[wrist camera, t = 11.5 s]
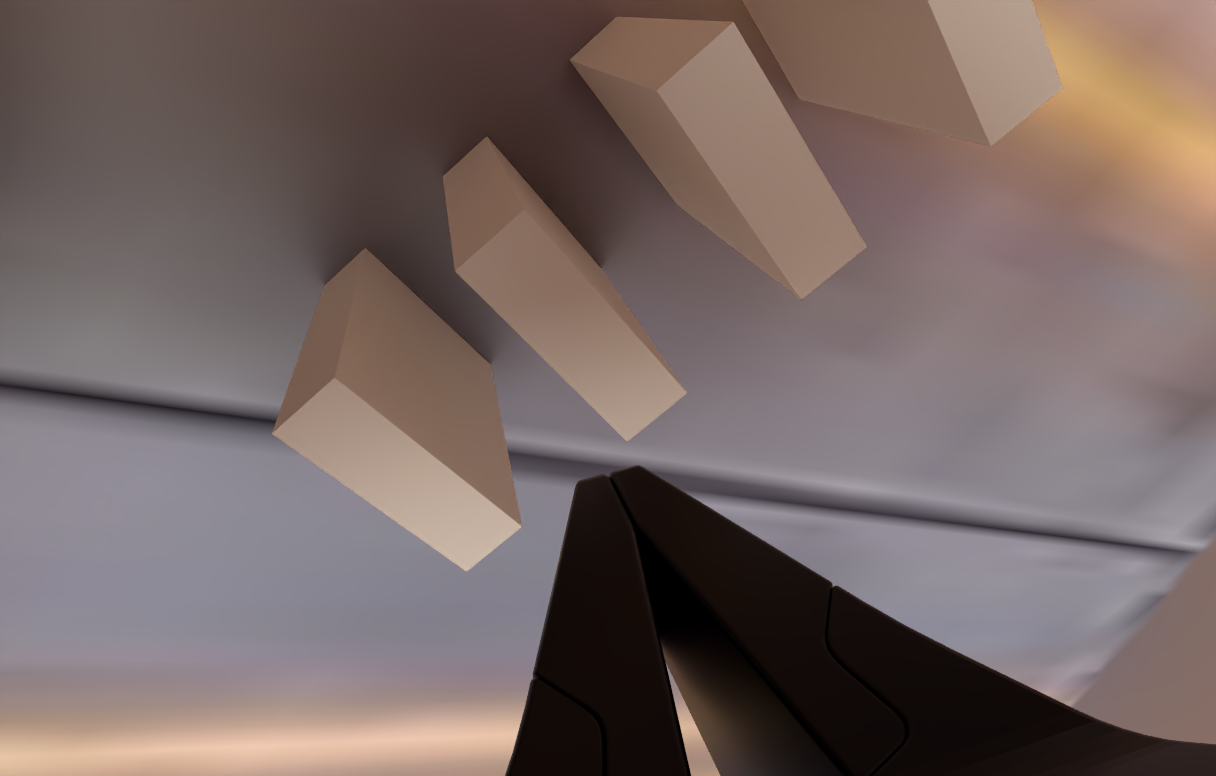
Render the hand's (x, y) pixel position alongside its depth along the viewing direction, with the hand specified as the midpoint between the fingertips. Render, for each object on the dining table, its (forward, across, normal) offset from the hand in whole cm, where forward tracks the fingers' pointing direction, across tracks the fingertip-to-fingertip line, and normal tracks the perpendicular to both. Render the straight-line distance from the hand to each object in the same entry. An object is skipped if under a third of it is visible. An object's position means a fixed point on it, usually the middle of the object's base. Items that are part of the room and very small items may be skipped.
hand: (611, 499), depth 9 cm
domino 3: (+13, -5, -2) cm, 14 cm away
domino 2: (+13, -1, 0) cm, 13 cm away
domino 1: (+13, +3, +2) cm, 13 cm away
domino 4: (+13, -8, -4) cm, 16 cm away
